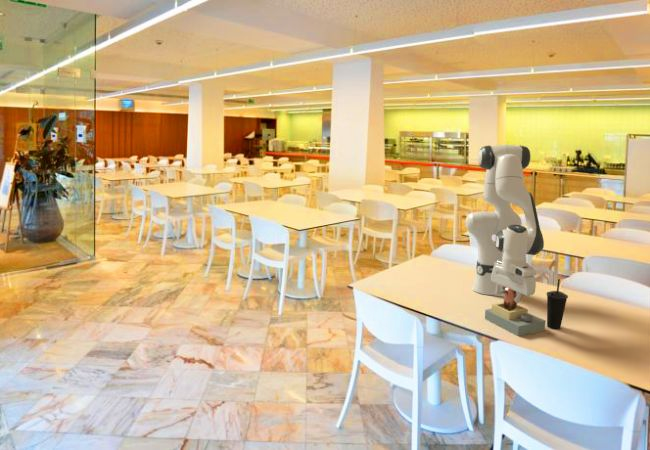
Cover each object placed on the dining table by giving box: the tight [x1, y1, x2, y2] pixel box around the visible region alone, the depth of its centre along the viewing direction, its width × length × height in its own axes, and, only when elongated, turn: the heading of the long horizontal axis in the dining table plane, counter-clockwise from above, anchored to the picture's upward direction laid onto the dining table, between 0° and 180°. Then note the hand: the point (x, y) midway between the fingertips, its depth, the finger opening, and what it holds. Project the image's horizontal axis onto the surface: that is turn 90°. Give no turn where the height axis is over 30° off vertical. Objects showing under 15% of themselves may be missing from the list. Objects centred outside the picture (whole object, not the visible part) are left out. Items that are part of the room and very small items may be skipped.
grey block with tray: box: [484, 301, 547, 337], centre depth 192 cm, size 14×18×7 cm
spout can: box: [502, 287, 518, 309], centre depth 192 cm, size 7×5×9 cm
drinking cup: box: [546, 278, 569, 330], centre depth 189 cm, size 8×8×20 cm
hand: (510, 299), depth 192 cm, fingers closed on spout can, 5 cm apart
